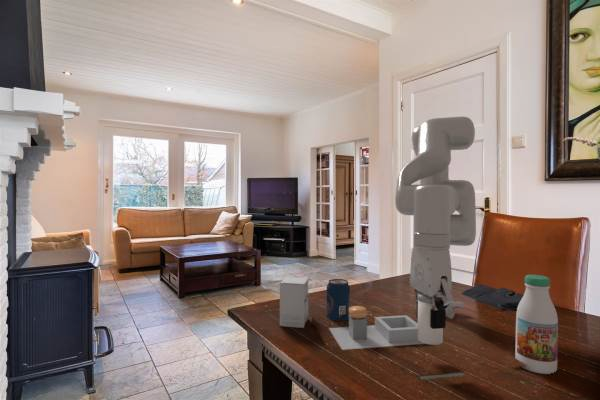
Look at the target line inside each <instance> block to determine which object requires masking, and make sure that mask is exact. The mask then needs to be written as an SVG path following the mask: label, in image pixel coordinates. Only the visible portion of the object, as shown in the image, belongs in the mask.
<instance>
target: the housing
mask: <svg viewBox="0 0 600 400" xmlns="http://www.w3.org/2000/svg"><path fill="white" fill-rule="evenodd" d="M328 330H329V331H330V333H331V335H332V336H333V338H334V339H335V341H336V343H337V344H338V346H339V347H340V349H341V350H342V351H347V350H357V349H358V350H359V349H370V348H386V347H387V348H388V347H398V346H412V345H425V344H426V343H423V342H421V341H419V340H418V322H417V321H414V319H412V318H411V317H409V315H407V314H406V315H405V314H403V315H391V316H390V315H389V316H387V315H386V316H375V317H374V325H372V324H371V325H368V319H367V318H366V317H364V318H361V319H355V318H354V317H351V316H350V315H349V319H348V326H343V327H329V328H328ZM426 345H427V344H426Z"/></svg>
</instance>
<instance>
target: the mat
mask: <svg viewBox="0 0 600 400" xmlns="http://www.w3.org/2000/svg"><path fill="white" fill-rule="evenodd" d="M463 375H464V376H465V371H453V372H443V373H430V374H420V375H416V377H418V379H419V380H429V379H437V378H438V379H441V378H450V377H452V376H453V377H462V376H463ZM464 376H463V377H464Z"/></svg>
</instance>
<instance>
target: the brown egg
mask: <svg viewBox="0 0 600 400" xmlns="http://www.w3.org/2000/svg"><path fill="white" fill-rule="evenodd" d="M367 312H368V311H367V308H366V307H364V306H361V305H353V306H350V308H349V315H350V316H351V317H354V318H355V319H361V318H364V317H365V318H366V317H367Z"/></svg>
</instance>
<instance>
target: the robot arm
mask: <svg viewBox="0 0 600 400" xmlns="http://www.w3.org/2000/svg"><path fill="white" fill-rule="evenodd" d="M474 125H475V124H474V122H473V121H472V119H471V118H470V117H467V116H450V117H435V118H431V119H427V120H426V121H424V122H423V123H422V124H421V125H419V126H417V127H415V128H414V129H413V131H412V133H411V140H412V141H411V142H412V147H413V150H414V153H415V157H414V158H412V159H411V160H409V162H408V163H406V165H405V166H404V167H403V168H402V169H401V170H400V172H399V174H398V177H397V181H396V190H395V199H394V200H395V207H396V210H397V212H398V213H400V214H401V215H404V216H413V242H412V243H413V246H412V250H411V251H412V252H411V258H410V271H409V284H410V286H411V288H412V289H414V291H415V300H416V304H415V305H414V307H416V318H417V319H418V292H421V293H423V294H425V295H427V296H429V297H431V301H432V308H433V309H430V327H431V328H432V329H439V328H443V329H445V328H446V317H447V318H448V319H450V320H452V319H454V318H455V312H454V311H453V310H455V309H463V308H464V305H465V304H464V302H462V301H455V300H454V296H453V295H452V286H453V285H452V284H453V283H452V280H453V279H452V263H451V262H452V261H451V260H452V259H451V252H450V248H451V246H457V247H458V246H459V247H461V246H462V247H464V246H465V247H467V246H472V245H473V244H474V242H475V241H476V236H477V221H476V219H477V215H476V192H475V187H474V185H473V184H472V182H471V181H468V180H462V179H449V170H450V169H449V166H450V164H451V161H452V151H461V150H468V149H469V148H470V147H471V146H472V145H473V143H474V141H475V137H476V136H475V135H476V128H475V126H474ZM418 181H420V183H419V184H414V183H416V182H418ZM455 212H458V214H457V213H456V214H454V213H455ZM437 293H440V294H441V295H437ZM436 298H441V300H439V301H438V302H437V300H436Z"/></svg>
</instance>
